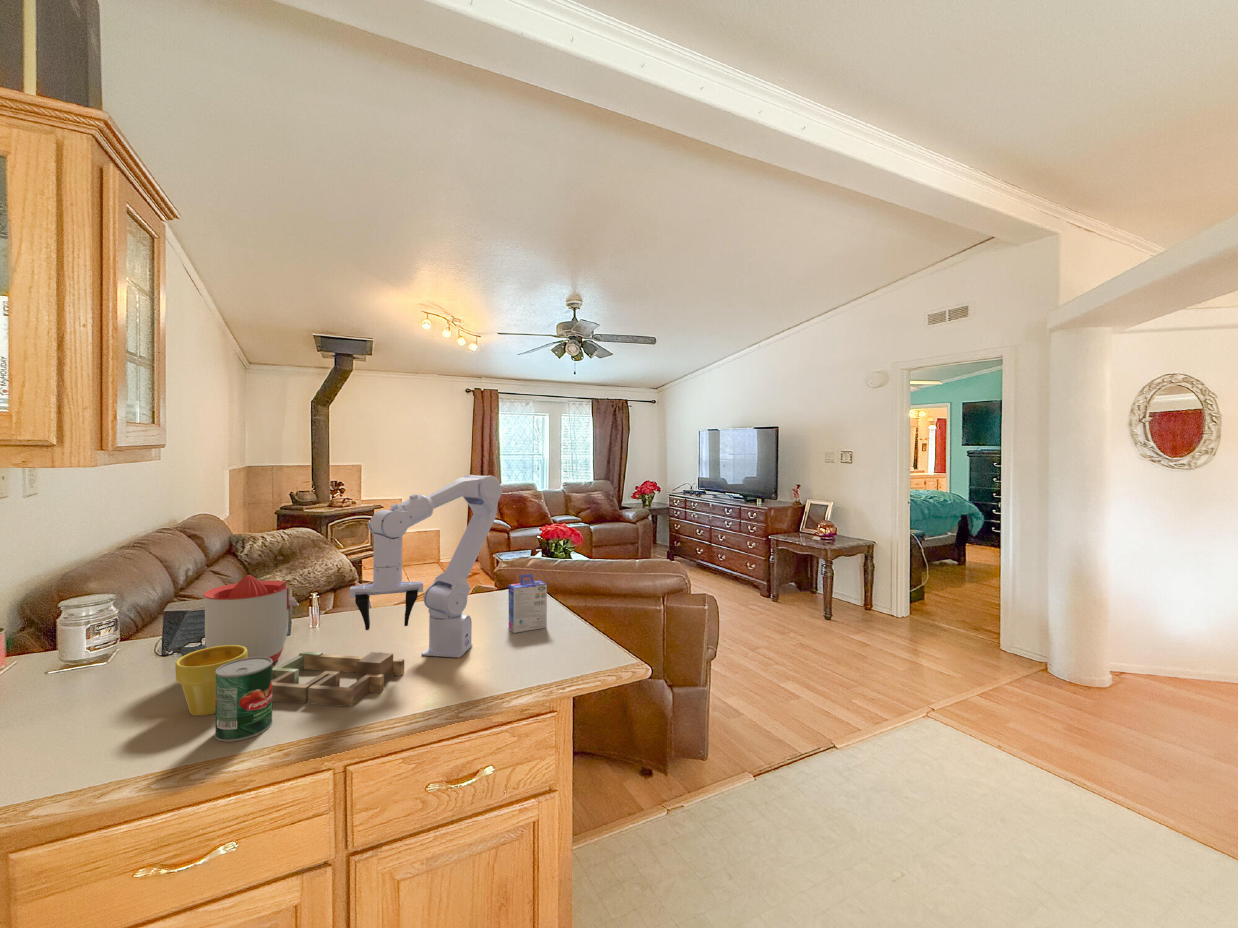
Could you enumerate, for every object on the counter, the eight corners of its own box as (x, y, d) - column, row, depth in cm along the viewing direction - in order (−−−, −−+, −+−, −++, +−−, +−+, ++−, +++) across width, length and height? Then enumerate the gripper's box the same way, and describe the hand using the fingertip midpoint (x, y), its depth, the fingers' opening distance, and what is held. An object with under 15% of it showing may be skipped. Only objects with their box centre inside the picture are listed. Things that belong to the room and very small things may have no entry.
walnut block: (393, 676, 108) (393, 653, 108) (379, 687, 103) (379, 662, 103) (371, 675, 108) (371, 652, 108) (356, 685, 103) (356, 661, 103)
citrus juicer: (302, 664, 113) (303, 575, 112) (202, 686, 102) (202, 587, 101) (294, 643, 125) (294, 563, 124) (203, 660, 114) (203, 572, 114)
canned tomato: (225, 721, 88) (225, 659, 88) (277, 714, 91) (278, 653, 91) (206, 746, 81) (207, 678, 81) (264, 737, 84) (265, 671, 84)
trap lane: (404, 672, 109) (404, 657, 109) (361, 707, 94) (361, 689, 94) (302, 666, 112) (303, 651, 112) (245, 698, 97) (245, 681, 97)
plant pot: (188, 727, 86) (188, 671, 86) (166, 710, 92) (166, 657, 92) (257, 703, 95) (257, 651, 95) (233, 689, 100) (233, 640, 100)
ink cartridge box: (540, 622, 144) (541, 571, 144) (547, 628, 139) (548, 575, 139) (506, 627, 139) (507, 575, 139) (513, 633, 134) (514, 579, 134)
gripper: (422, 559, 117) (422, 617, 117) (352, 563, 111) (351, 624, 111) (423, 565, 110) (422, 627, 110) (348, 570, 105) (348, 635, 105)
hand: (387, 626), depth 110 cm, fingers open, 7 cm apart
